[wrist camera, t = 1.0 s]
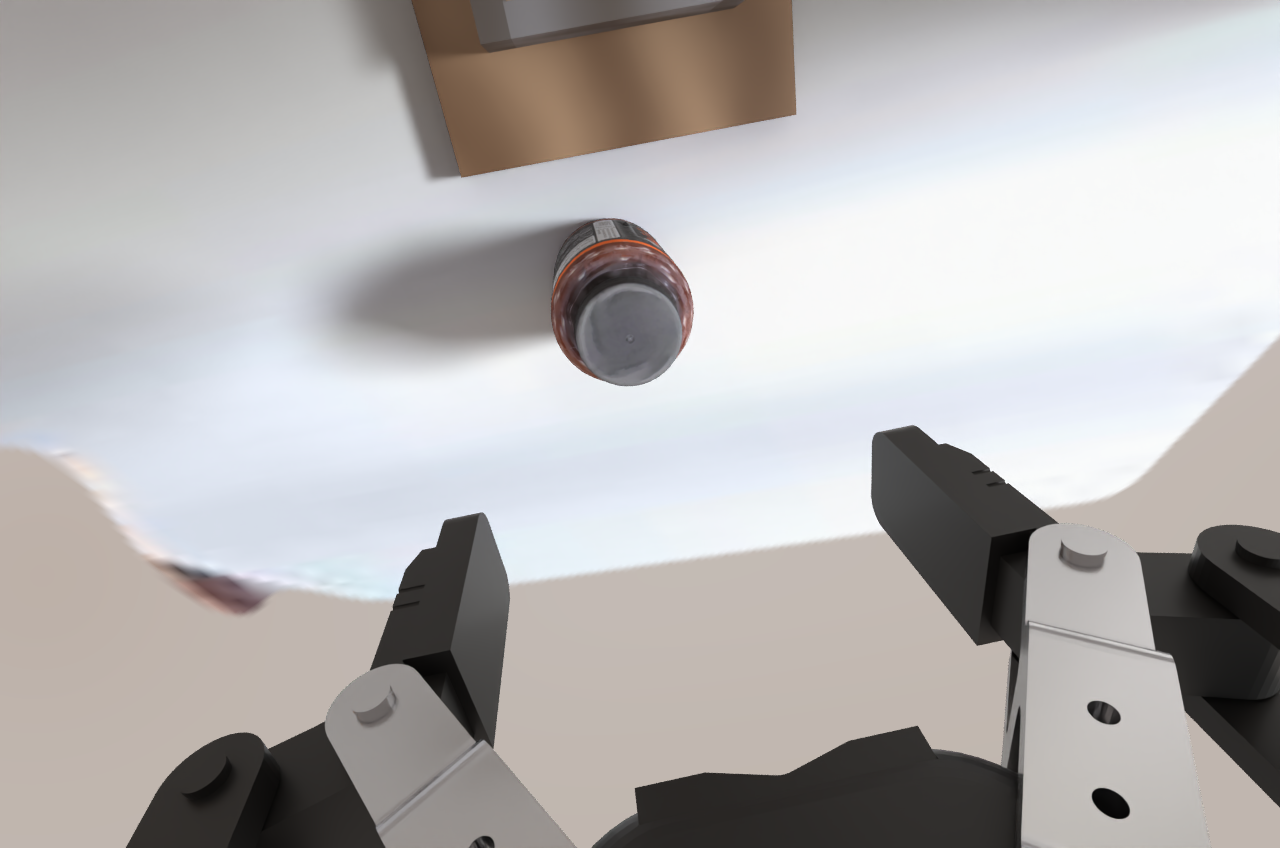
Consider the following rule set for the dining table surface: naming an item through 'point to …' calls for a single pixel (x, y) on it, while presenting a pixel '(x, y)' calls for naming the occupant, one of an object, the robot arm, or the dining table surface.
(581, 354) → the supplement bottle
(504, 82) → the socket plate
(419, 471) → the dining table surface
